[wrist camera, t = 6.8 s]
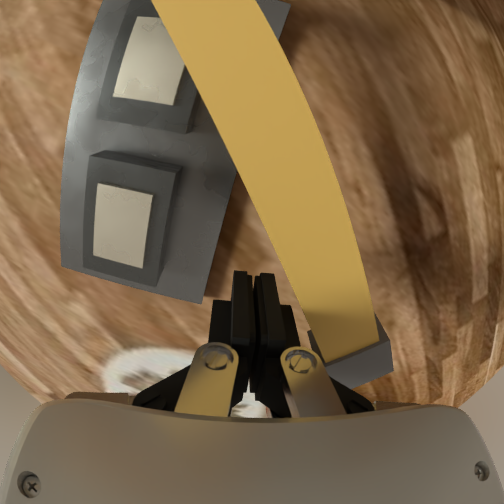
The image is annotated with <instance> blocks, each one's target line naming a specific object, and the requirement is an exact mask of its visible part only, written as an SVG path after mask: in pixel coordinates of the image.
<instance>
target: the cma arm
mask: <svg viewBox="0 0 504 504" xmlns="http://www.w3.org/2000/svg"><path fill="white" fill-rule="evenodd" d="M151 1H152V3H153V5H154V7H155V8H156V10H157V12H158V14H159V16H160V18H161V20H162V22H163V23H164V25H165V27H166V29H167V31H168V33H169V35H170V37H171V39H172V40H173V42H174V44H175V46H176V48H177V50H178V52H179V54H180V56H181V58H182V60H183V62H184V64H185V66H186V67H187V69H188V71H189V73H190V75H191V77H192V79H193V81H194V83H195V85H196V87H197V89H198V91H199V93H200V95H201V97H202V99H203V101H204V103H205V105H206V107H207V109H208V111H209V113H210V115H211V117H212V119H213V121H214V123H215V125H216V127H217V129H218V131H219V133H220V135H221V137H222V139H223V141H224V143H225V145H226V147H227V149H228V152H229V154H230V156H231V158H232V160H233V162H234V164H235V166H236V168H237V170H238V172H239V174H240V176H241V178H242V181H243V183H244V185H245V187H246V189H247V191H248V193H249V195H250V197H251V199H252V202H253V204H254V206H255V208H256V210H257V212H258V214H259V216H260V218H261V221H262V223H263V225H264V227H265V229H266V231H267V233H268V236H269V238H270V240H271V242H272V244H273V246H274V249H275V251H276V253H277V255H278V257H279V259H280V262H281V264H282V266H283V268H284V270H285V273H286V275H287V277H288V279H289V281H290V284H291V286H292V288H293V290H294V292H295V295H296V297H297V299H298V301H299V304H300V306H301V308H302V310H303V313H304V315H305V317H306V319H307V322H308V324H309V326H310V328H311V330H310V331H307V333H308V336H309V340H310V344H311V348H312V351H314V352H315V353H316V354H318V356H319V357H320V359H321V361H322V363H323V365H324V367H325V369H326V371H327V373H328V375H329V376H330V377H332V378H333V379H335V380H336V381H338V382H340V383H341V384H343V385H345V386H346V387H348V388H350V389H352V388H355V387H357V386H360V385H362V384H365V383H367V382H370V381H372V380H374V379H377V378H379V377H381V376H383V375H386V374H388V373H390V372H392V371H394V370H393V361H392V352H391V345H390V340H389V338H388V336H387V334H386V332H385V330H384V329H383V327H382V325H381V323H380V321H379V320H378V318H377V316H376V314H375V313H374V311H373V306H372V302H371V297H370V293H369V288H368V284H367V280H366V276H365V272H364V268H363V264H362V260H361V257H360V253H359V249H358V246H357V242H356V238H355V235H354V231H353V228H352V225H351V221H350V218H349V215H348V212H347V208H346V205H345V202H344V199H343V196H342V193H341V190H340V187H339V184H338V181H337V178H336V175H335V172H334V169H333V167H332V164H331V161H330V158H329V156H328V153H327V150H326V148H325V145H324V142H323V140H322V137H321V135H320V132H319V130H318V127H317V125H316V122H315V120H314V117H313V115H312V113H311V110H310V108H309V105H308V103H307V101H306V99H305V96H304V94H303V92H302V90H301V87H300V85H299V83H298V81H297V79H296V76H295V74H294V72H293V70H292V68H291V66H290V64H289V62H288V60H287V58H286V56H285V54H284V52H283V50H282V48H281V46H280V44H279V42H278V40H277V38H276V36H275V34H274V32H273V30H272V29H271V27H270V25H269V23H268V21H267V19H266V18H265V16H264V14H263V12H262V11H261V9H260V7H259V5H258V4H257V2H256V0H151Z"/></svg>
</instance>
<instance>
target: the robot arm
mask: <svg viewBox="0 0 504 504" xmlns="http://www.w3.org/2000/svg"><path fill="white" fill-rule="evenodd" d="M248 381H249V382H250V393H255V401H260V402H261V403H263V404H264V405H265V406H266V414H267V417H268V418H240V417H231V412H232V407H234V406H235V405H236V404H238V403H239V402H240V401H242V398H243V393H244V392H246V391H247V386H248ZM0 504H504V491H503V488H502V485H501V482H500V479H499V476H498V474H497V471H496V468H495V465H494V463H493V460H492V458H491V456H490V453H489V451H488V449H487V447H486V444H485V442H484V440H483V439H482V436H481V435H480V433H479V431H478V429H477V427H476V426H475V424H474V422H473V421H472V420H471V418H470V417H469V416H468V415H467V414H466V413H465V412H464V411H462V410H461V409H458V408H456V407H452V406H446V405H439V404H425V405H421V404H417V403H401V402H385V401H375V402H374V403H371V402H370V401H369V400H367V399H366V398H365V397H363V396H361V395H360V394H358V393H356V392H355V391H353V390H351V389H350V388H348V387H346V386H345V385H343V384H341V383H340V382H338V381H336V380H335V379H333V378H332V377H330V376H329V375H328V373H327V371H326V369H325V367H324V365H323V363H322V361H321V359H320V357H319V356H318V354H316V353H315V352H314V351H312V350H310V349H308V348H305V347H301V345H300V341H299V337H298V332H297V328H296V324H295V320H294V315H293V311H292V308H291V306H290V305H280V302H279V297H278V292H277V287H276V281H275V276H274V274H271V273H260V276H255V281H254V287H253V284H252V275H247V271H235V270H234V275H233V284H232V294H231V301H225V300H213V306H212V314H211V323H210V331H209V340H208V343H207V344H204V345H202V346H201V347H199V348H198V349H197V351H196V353H195V355H194V358H193V361H192V363H191V365H189V366H187V367H185V368H184V369H182V370H180V371H178V372H176V373H175V374H173V375H171V376H169V377H167V378H165V379H164V380H162V381H160V382H158V383H156V384H154V385H152V386H150V387H149V388H147V389H145V390H143V391H141V392H140V393H138V394H137V395H136V396H129V395H128V393H97V392H73V393H71V394H69V395H67V396H66V398H65V399H59V400H54V401H50V402H46V403H44V404H42V405H40V406H39V407H37V408H36V409H35V410H34V411H33V412H32V413H31V415H30V416H29V417H28V419H27V420H26V422H25V424H24V425H23V427H22V429H21V431H20V433H19V435H18V437H17V440H16V442H15V445H14V447H13V449H12V452H11V454H10V457H9V459H8V463H7V466H6V469H5V473H4V476H3V479H2V483H1V487H0Z"/></svg>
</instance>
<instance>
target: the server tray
mask: <svg viewBox="0 0 504 504" xmlns="http://www.w3.org/2000/svg"><path fill="white" fill-rule="evenodd" d="M256 2H257V4H258V5H259V7H260V9H261V11H262V12H263V14H264V16H265V18H266V19H267V21H268V23H269V25H270V27H271V29H272V30H273V32H274V34H275V36H276V38H277V40H279V37H280V34H281V32H282V29H283V26H284V23H285V20H286V17H287V15H288V12H289V9H290V6H291V4H288V3H285V2H282V1H278V0H256ZM236 173H237V168H236V166H235V164H234V162H233V160H232V158H231V156H230V154H229V152H228V149H227V147H226V145H225V143H224V141H223V139H222V137H221V135H220V133H219V131H218V129H217V127H216V125H215V123H214V121H213V119H212V117H211V115H210V113H209V111H208V109H207V107H206V105H205V103H204V101H203V99H202V97H201V95H200V93H199V91H198V89H197V87H196V85H195V83H194V81H193V79H192V77H191V75H190V73H189V71H188V69H187V67H186V66H185V64H184V62H183V60H182V58H181V56H180V54H179V52H178V50H177V48H176V46H175V44H174V42H173V40H172V39H171V37H170V35H169V33H168V31H167V29H166V27H165V25H164V23H163V22H162V20H161V18H160V16H159V14H158V12H157V10H156V8H155V7H154V5H153V3H152V1H151V0H103V2H102V4H101V7H100V9H99V12H98V14H97V17H96V20H95V22H94V25H93V28H92V31H91V34H90V37H89V40H88V43H87V46H86V49H85V52H84V56H83V59H82V63H81V66H80V70H79V74H78V78H77V82H76V86H75V91H74V95H73V100H72V105H71V110H70V116H69V122H68V128H67V135H66V142H65V150H64V159H63V170H62V183H61V203H60V245H61V266H62V267H65V268H69V269H72V270H75V271H78V272H81V273H85V274H88V275H91V276H95V277H98V278H101V279H105V280H108V281H112V282H115V283H119V284H122V285H126V286H130V287H133V288H137V289H141V290H145V291H148V292H152V293H156V294H160V295H164V296H168V297H172V298H176V299H180V300H185V301H189V302H193V303H197V304H202V300H203V296H204V292H205V288H206V284H207V280H208V276H209V272H210V268H211V264H212V260H213V256H214V252H215V249H216V245H217V241H218V237H219V234H220V230H221V226H222V222H223V219H224V215H225V212H226V208H227V204H228V201H229V197H230V194H231V190H232V187H233V183H234V180H235V176H236Z"/></svg>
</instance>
